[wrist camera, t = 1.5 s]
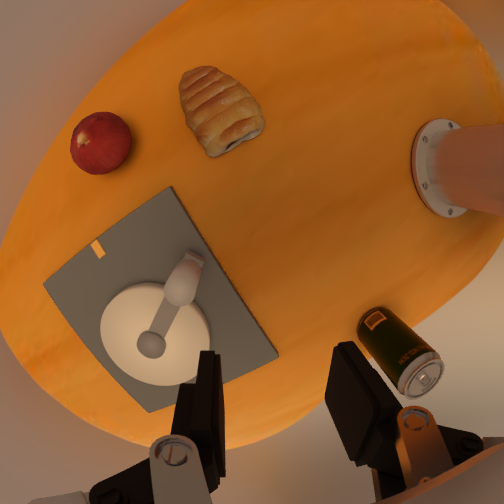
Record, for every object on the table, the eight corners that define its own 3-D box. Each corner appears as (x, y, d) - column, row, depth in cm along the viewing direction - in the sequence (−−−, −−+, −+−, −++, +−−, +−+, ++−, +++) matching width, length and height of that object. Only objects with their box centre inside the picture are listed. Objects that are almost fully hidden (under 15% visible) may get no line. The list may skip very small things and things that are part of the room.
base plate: (171, 186, 26) (169, 186, 25) (277, 352, 32) (279, 358, 31) (46, 281, 28) (41, 284, 26) (150, 408, 33) (148, 414, 32)
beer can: (347, 329, 32) (393, 390, 20) (379, 297, 31) (436, 347, 20) (370, 349, 33) (414, 407, 22) (398, 320, 33) (451, 370, 21)
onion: (82, 148, 24) (40, 142, 17) (119, 109, 24) (85, 88, 16) (112, 185, 26) (74, 189, 18) (151, 145, 25) (123, 133, 18)
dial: (184, 389, 31) (177, 430, 24) (96, 345, 29) (73, 379, 22) (251, 280, 28) (258, 311, 21) (144, 222, 26) (117, 236, 19)
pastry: (164, 92, 24) (156, 80, 20) (221, 59, 24) (220, 43, 20) (213, 164, 26) (211, 161, 23) (271, 128, 26) (278, 120, 22)
